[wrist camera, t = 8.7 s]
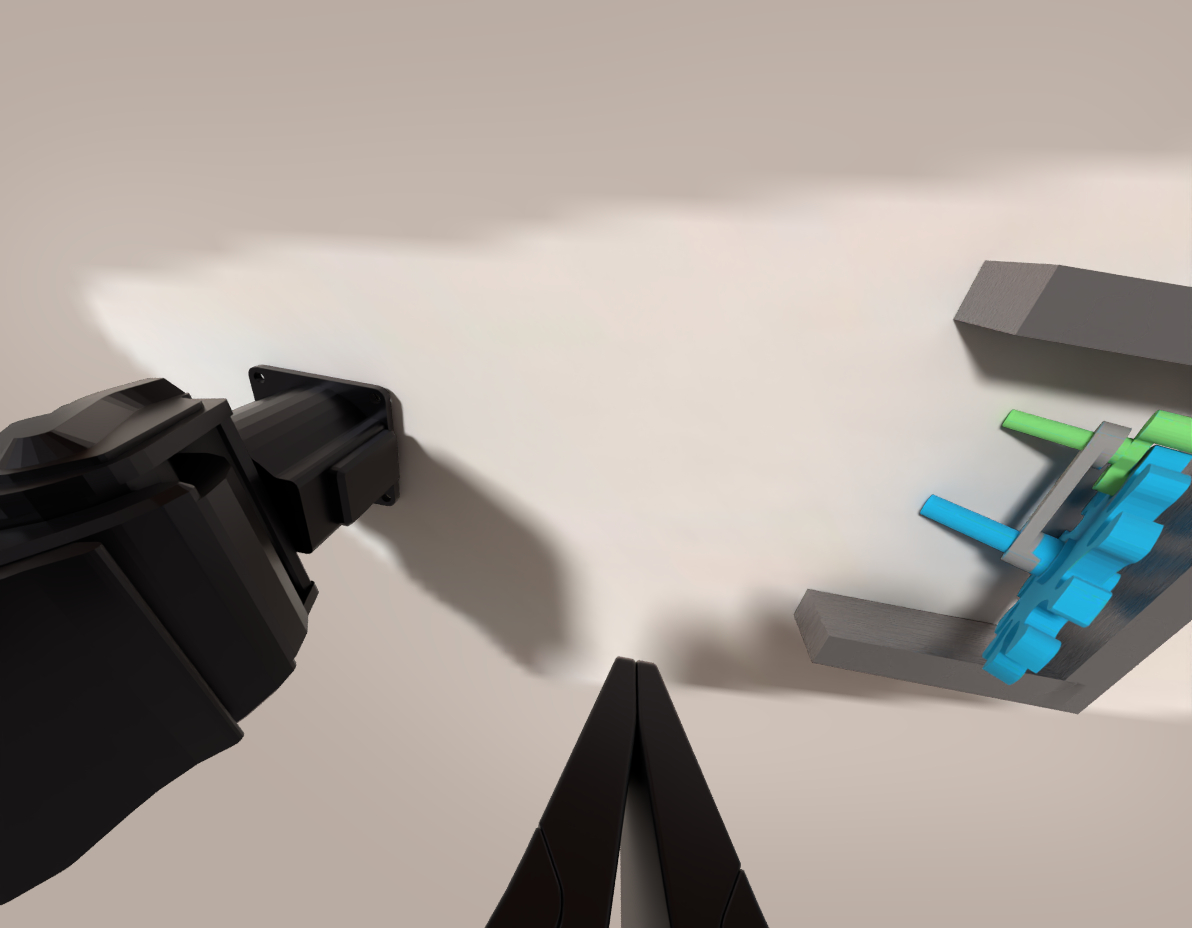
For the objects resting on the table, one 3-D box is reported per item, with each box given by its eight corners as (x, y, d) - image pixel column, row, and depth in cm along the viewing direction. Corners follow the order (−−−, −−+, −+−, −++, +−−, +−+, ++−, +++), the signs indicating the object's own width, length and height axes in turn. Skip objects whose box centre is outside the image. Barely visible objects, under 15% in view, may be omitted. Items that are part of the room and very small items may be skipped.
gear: (1027, 641, 20) (1019, 746, 14) (895, 568, 24) (837, 621, 17) (1205, 432, 17) (1318, 432, 10) (1014, 384, 20) (999, 359, 13)
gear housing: (793, 615, 23) (812, 662, 21) (985, 260, 15) (1058, 264, 12) (1028, 660, 23) (1078, 714, 20) (1365, 324, 14) (1525, 343, 12)
